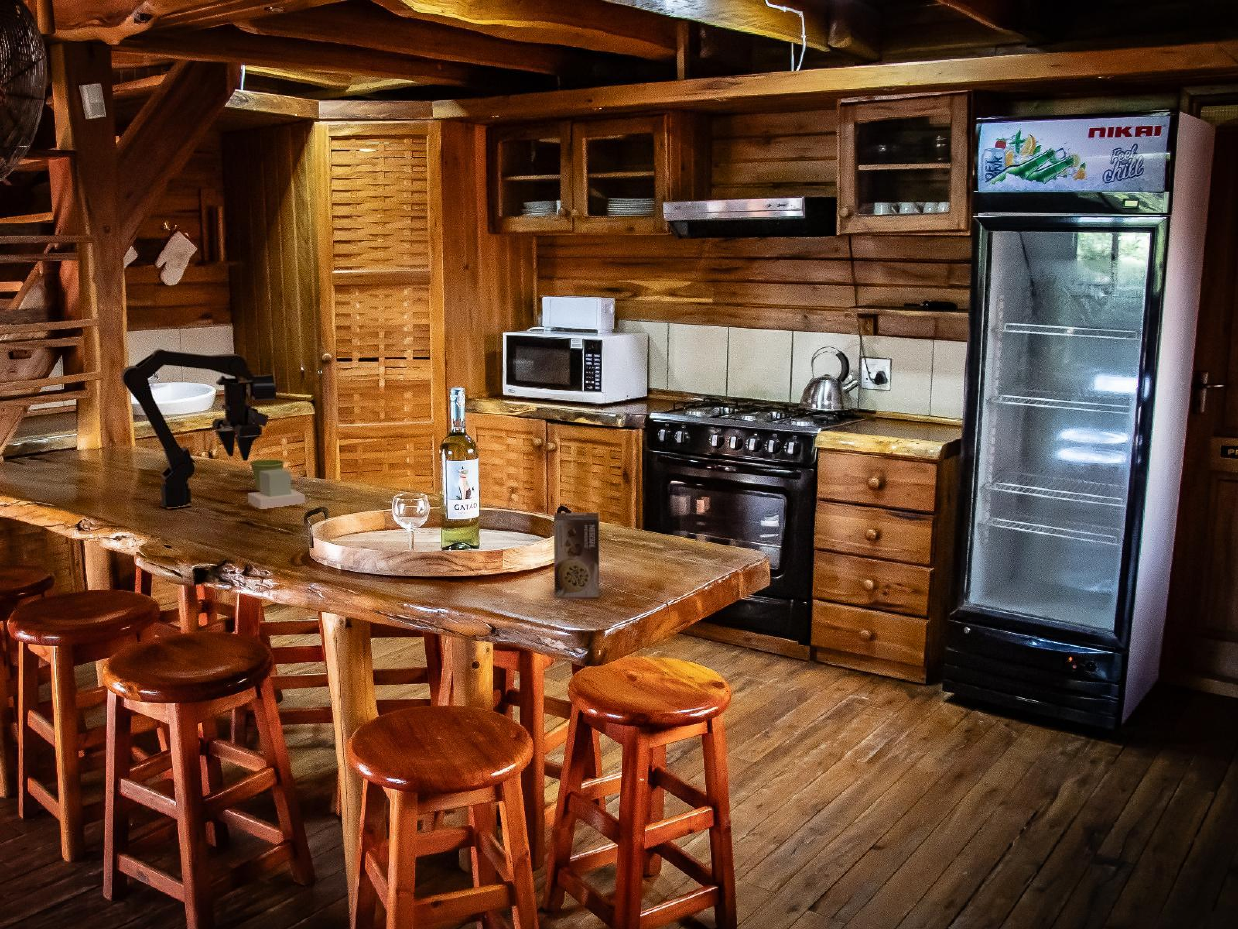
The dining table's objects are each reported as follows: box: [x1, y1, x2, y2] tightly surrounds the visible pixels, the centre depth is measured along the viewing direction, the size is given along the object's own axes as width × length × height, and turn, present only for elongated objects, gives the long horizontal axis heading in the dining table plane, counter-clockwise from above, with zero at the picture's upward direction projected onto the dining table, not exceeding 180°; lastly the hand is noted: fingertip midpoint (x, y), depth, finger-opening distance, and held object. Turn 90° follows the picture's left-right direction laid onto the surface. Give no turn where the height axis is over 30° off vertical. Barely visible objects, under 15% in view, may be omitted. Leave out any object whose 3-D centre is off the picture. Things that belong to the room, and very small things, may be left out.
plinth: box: [247, 488, 306, 509], centre depth 318 cm, size 12×10×4 cm
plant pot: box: [249, 459, 285, 490], centre depth 337 cm, size 9×9×9 cm
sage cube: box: [259, 468, 292, 497], centre depth 318 cm, size 6×6×6 cm
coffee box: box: [553, 512, 600, 599], centre depth 239 cm, size 9×6×16 cm
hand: (238, 458), depth 322 cm, fingers open, 9 cm apart
